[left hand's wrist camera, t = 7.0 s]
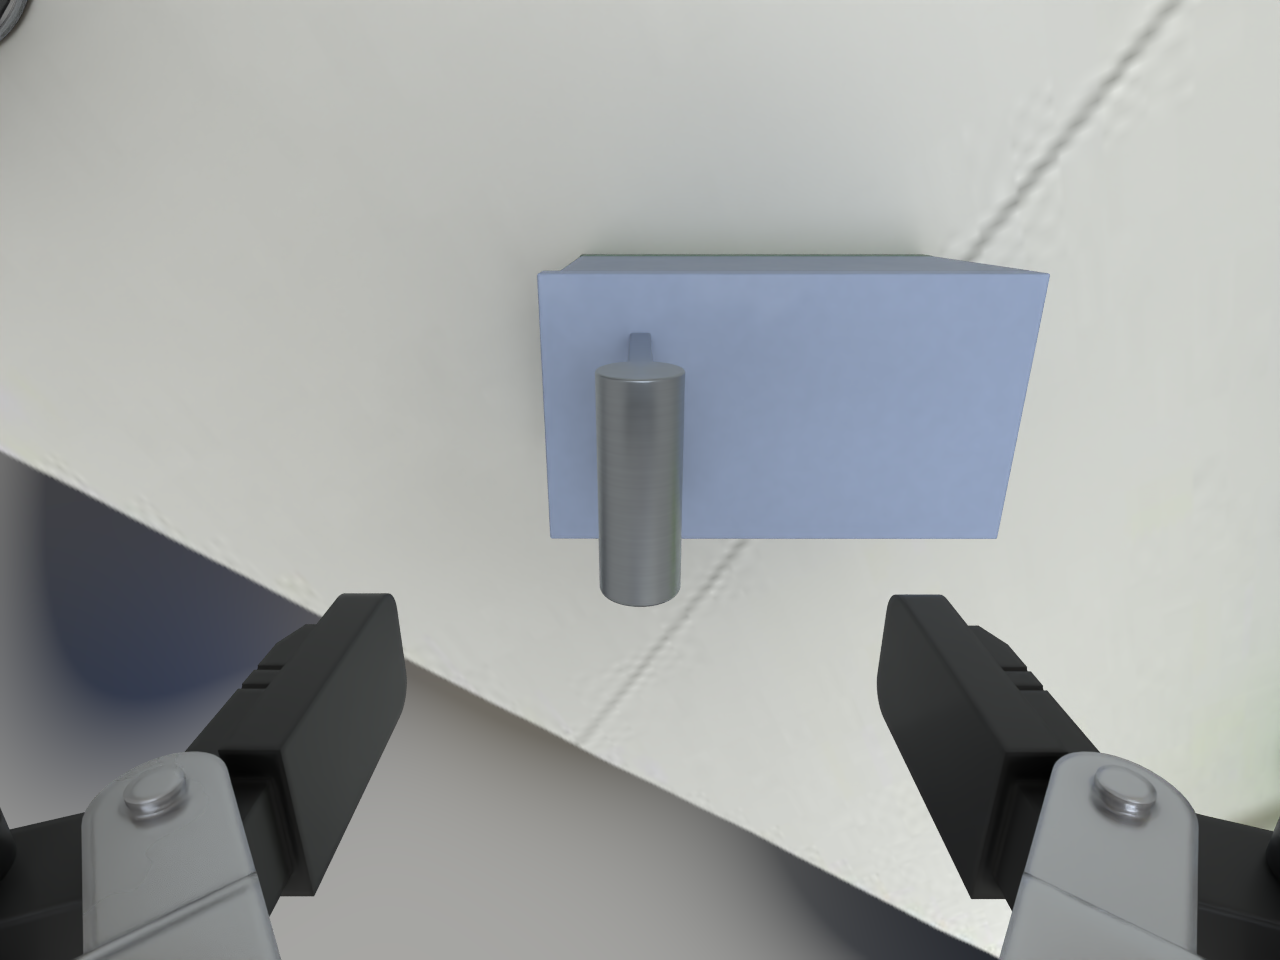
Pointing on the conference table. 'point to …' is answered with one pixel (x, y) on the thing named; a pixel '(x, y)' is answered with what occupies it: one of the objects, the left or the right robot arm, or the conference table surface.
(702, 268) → the chest
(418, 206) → the conference table surface
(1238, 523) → the conference table surface
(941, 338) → the lid
